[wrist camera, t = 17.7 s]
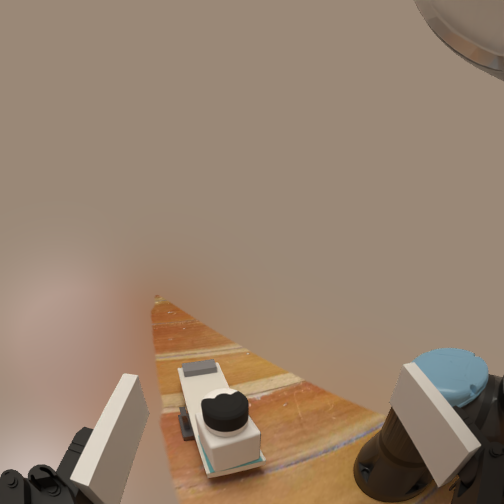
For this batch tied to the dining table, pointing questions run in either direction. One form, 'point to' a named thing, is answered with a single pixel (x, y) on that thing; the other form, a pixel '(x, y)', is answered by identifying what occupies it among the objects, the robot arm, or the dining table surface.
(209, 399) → the medicine bottle
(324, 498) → the dining table surface
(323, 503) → the dining table surface
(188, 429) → the fulcrum
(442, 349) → the robot arm
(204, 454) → the beam
